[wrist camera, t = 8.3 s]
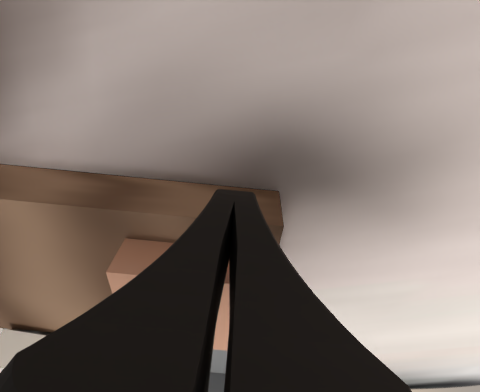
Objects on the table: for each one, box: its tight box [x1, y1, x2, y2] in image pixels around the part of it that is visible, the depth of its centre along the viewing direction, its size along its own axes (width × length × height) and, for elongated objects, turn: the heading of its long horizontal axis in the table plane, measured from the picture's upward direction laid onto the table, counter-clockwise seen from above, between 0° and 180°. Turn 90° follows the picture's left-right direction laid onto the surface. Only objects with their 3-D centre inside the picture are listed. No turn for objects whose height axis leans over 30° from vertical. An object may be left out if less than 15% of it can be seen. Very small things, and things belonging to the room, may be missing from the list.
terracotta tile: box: [106, 238, 229, 351], centre depth 12 cm, size 5×5×2 cm
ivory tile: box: [0, 329, 51, 368], centre depth 17 cm, size 5×5×2 cm
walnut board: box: [0, 164, 284, 333], centre depth 14 cm, size 16×10×2 cm, turn 85°
